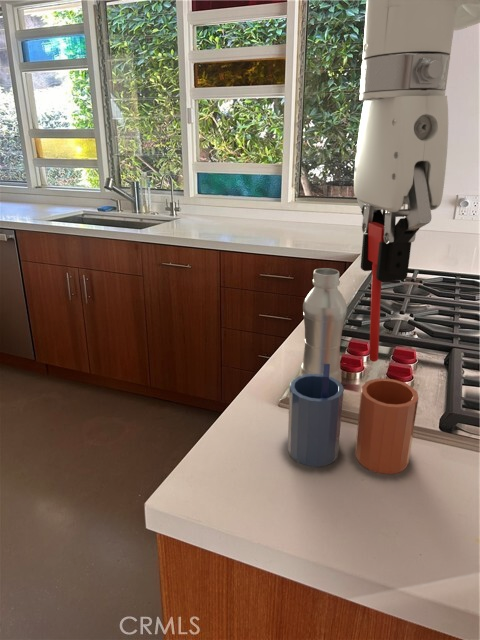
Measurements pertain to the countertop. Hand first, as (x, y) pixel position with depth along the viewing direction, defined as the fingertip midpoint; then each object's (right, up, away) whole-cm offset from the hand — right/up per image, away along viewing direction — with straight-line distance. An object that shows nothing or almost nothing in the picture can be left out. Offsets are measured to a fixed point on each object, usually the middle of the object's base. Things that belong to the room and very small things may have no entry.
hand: (382, 272), depth 49 cm
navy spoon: (-5, -22, +11) cm, 25 cm away
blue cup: (-6, -22, +11) cm, 25 cm away
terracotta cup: (+3, -23, +9) cm, 25 cm away
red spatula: (0, -10, +4) cm, 11 cm away
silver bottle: (-3, -17, +24) cm, 30 cm away
